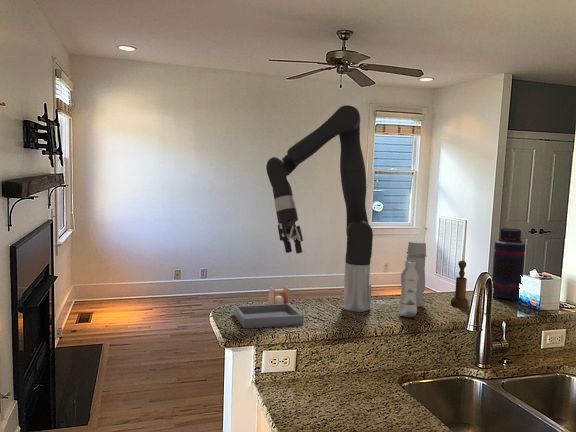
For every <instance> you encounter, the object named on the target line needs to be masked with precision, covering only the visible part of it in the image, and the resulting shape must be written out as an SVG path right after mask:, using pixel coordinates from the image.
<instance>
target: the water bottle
mask: <svg viewBox="0 0 576 432" xmlns="http://www.w3.org/2000/svg"><path fill="white" fill-rule="evenodd" d="M426 257H428V255H427V242H425V241H420V240H419V241H418V240H410V241H408V245H407V252H406V261H415V262H416V267H415V270H416V271H417V273H418V275H419V280H418V284H417V291H416V305H417V308H420V307H421V308H422V306H423V304H424V303H423V300H424V292H425V291H426V288H425V287H426V269H425V268H426Z"/></svg>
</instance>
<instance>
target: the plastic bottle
mask: <svg viewBox="0 0 576 432" xmlns="http://www.w3.org/2000/svg"><path fill="white" fill-rule="evenodd" d="M415 267H416V262H415V261H407V260H405V262H404V268H403V269H402V271H401V273H400V285H401V286H400V289H401V290H400V297H399V298H400V299H399V303H398V308H397V309H398V314H399V315H400V316H401V317H405V318H414V317H416V315H417V312H418V307H417V305H416V291H417V284H418V280H419V275H418V273H417V271H416V270H415Z"/></svg>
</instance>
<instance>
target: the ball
mask: <svg viewBox="0 0 576 432" xmlns="http://www.w3.org/2000/svg"><path fill="white" fill-rule="evenodd" d="M275 304H284V298H283V297H282V296H276V297H275Z"/></svg>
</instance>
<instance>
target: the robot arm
mask: <svg viewBox="0 0 576 432" xmlns="http://www.w3.org/2000/svg"><path fill="white" fill-rule="evenodd" d="M360 126H361V115H360V112H359V109H357V108H356V106H354V105H351V104H344V105H341V106H340V107H338V109H337V110H335V112H334V113H333V114H332V115H331V116H330V117H329V118H328V119H326V121H324V123H322V124H321V125H320V126H319V127H317V128H316V129H315V130H313V131H312V132H310V133H309V134H307V135H306V136H304V138H303V137H302V139H300V140H299V141H298V142H296V143H295V144H293V145H292V146H291V147H289V148H288V149H287V151H286V152H287V153H286V155H284V156H283V157H282V158H280V157H277V156H272V157H271V158H269V159H268V160H267V162H266V167H265V169H266V174H267V178H268V180H269V183H270V185H271V188H272V195H273V199H274V209H275V212H276V213H275V214H276V218H277V230H278V236H279V241H280V242H281V241H282V243H283V245H284V250H285V253H287V254H289V253H291V252H292V251H293V249H292V248H293V247H292V243H291V240H292V241H293V243H294V248H295V252H296V254H301V253H303V249H302V242H304V238H303V233H302V229H301V226H300V225H296V223H297V222H298V221H299V218H298V213H297V212H298V211H297V206H296V202H295V199H294V196H293V195H294V194H293V190H292V186H291V183H290V182H289V181H288V179H287V177H288V176H289V175H290V174H292V173H293V172H294V171H295V169H297V167H298V166H299V165H300V164H302V163H303V162H305V161H306V160H308V159H309V158H310V157H312V156H313V155H315V153H317V152H318V151H319V150H321V148H322V147H323V146H325V145H326V144H327V143H328V142H330V141H331V140H332V139H334V138H336V137H337V136H339V144H340V154H339V155H340V158H339V171H340V172H339V173H340V180H341V181H340V182H341V189H342V194H343V200H344V203H345V210H346V229H345V230H346V231H345V234H346V250H345V251H346V252H345V258H344V259H345V260H344V261H345V262H344V264H345V265H344V281H343V282H344V285H343V301H342V302H343V303H342V308H343V309H344V310H346V311H349V312H361V313H362V312H366V311H370V310H371V302H372V301H371V300H372V299H371V297H372V284H370V277H371V276H370V275H371V274H370V273H371V259H372V256H373V255H372V253H373V238H374V235H373V234H374V233H373V228H372V227H371V225H370V223H369V220H368V215H367V209H366V201H367V200H366V199H367V173H366V165H365V159H364V155H363V151H362V146H361V132H360V131H361V127H360Z"/></svg>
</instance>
